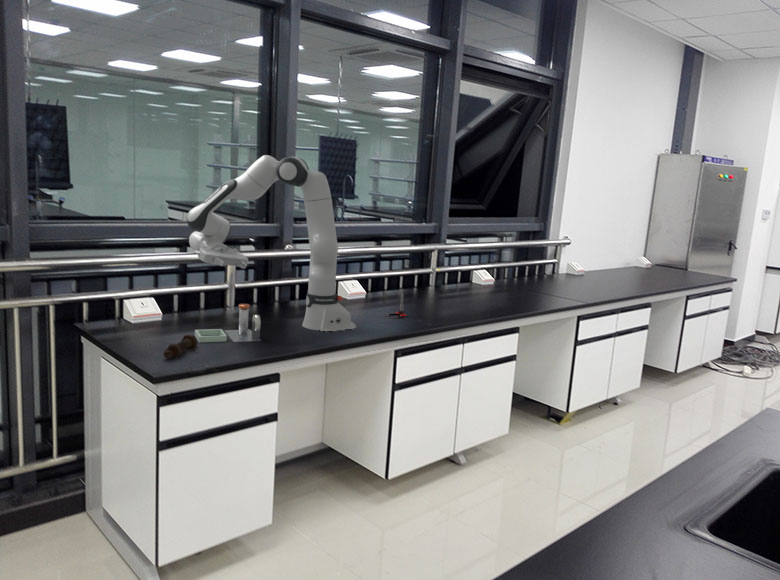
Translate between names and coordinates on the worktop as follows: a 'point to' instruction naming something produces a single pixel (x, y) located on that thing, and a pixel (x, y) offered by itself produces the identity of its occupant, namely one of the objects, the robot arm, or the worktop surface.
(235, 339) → the base
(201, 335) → the tray
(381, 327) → the worktop surface
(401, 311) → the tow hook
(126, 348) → the worktop surface
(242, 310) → the lock pin
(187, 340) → the dark brown lumpy piece
